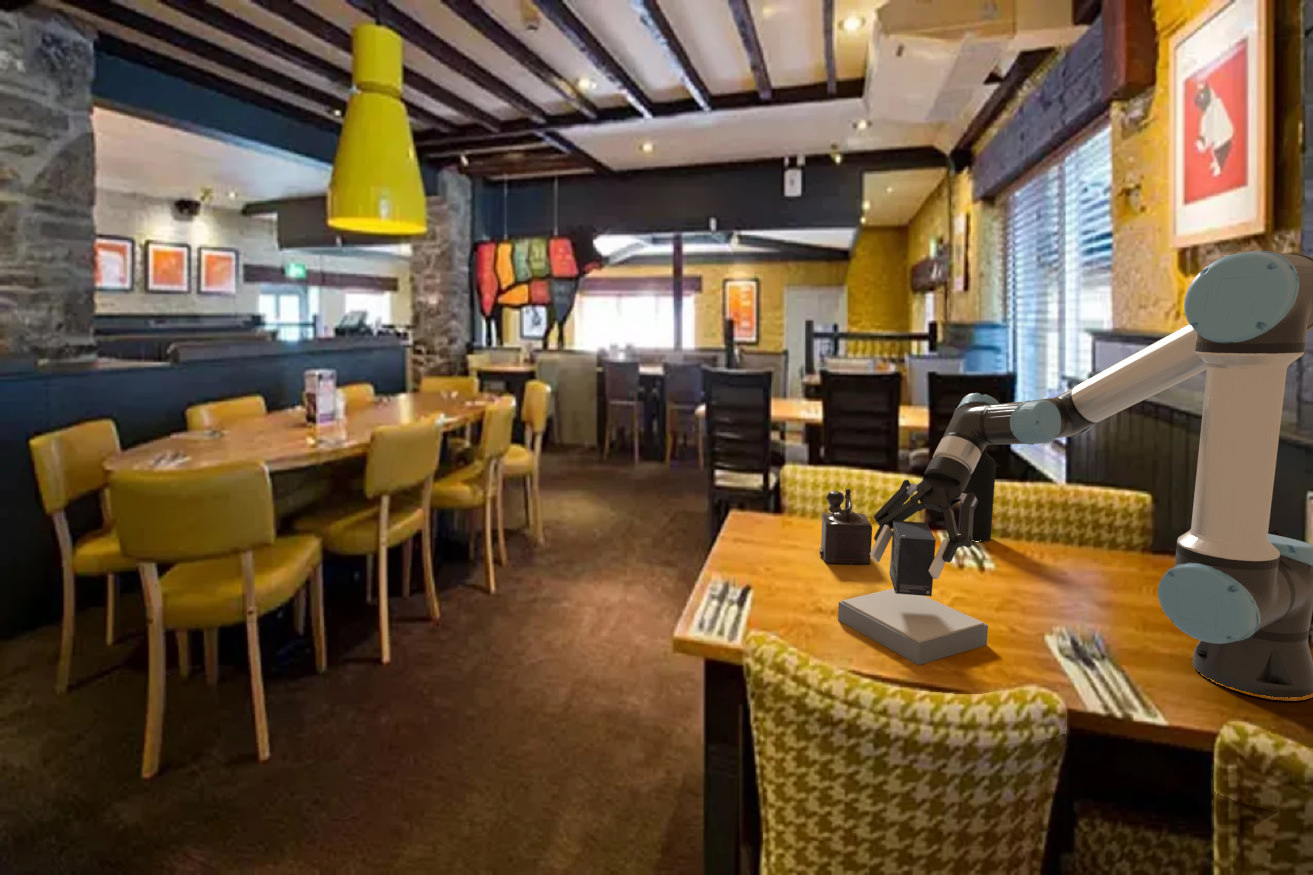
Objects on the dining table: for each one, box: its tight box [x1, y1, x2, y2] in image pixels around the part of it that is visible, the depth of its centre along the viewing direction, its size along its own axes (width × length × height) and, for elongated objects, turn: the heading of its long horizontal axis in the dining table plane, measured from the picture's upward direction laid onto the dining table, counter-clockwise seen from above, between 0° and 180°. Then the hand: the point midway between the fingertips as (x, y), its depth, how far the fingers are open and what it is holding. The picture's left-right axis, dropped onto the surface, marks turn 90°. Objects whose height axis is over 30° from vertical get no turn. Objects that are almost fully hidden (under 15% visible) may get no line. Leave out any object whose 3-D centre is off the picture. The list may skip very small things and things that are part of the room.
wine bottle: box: [957, 445, 997, 543], centre depth 183 cm, size 8×8×30 cm
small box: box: [889, 520, 937, 597], centre depth 131 cm, size 11×6×10 cm, turn 168°
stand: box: [837, 587, 989, 666], centre depth 132 cm, size 20×16×4 cm
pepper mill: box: [819, 488, 873, 566], centre depth 169 cm, size 16×11×18 cm
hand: (902, 566), depth 129 cm, fingers closed on small box, 11 cm apart
